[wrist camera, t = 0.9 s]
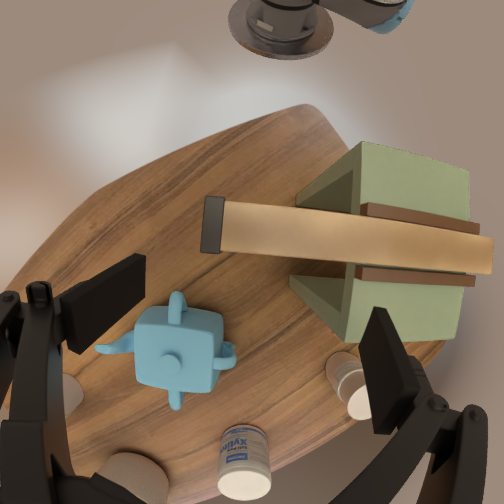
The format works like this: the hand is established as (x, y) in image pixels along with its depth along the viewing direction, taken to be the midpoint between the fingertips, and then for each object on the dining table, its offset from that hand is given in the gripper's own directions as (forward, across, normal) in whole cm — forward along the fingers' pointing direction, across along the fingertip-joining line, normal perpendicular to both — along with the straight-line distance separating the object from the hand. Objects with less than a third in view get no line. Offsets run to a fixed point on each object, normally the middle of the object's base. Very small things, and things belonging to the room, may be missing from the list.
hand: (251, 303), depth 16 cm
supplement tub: (+24, +1, -46) cm, 52 cm away
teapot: (+28, -15, -25) cm, 40 cm away
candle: (+32, +16, -27) cm, 45 cm away
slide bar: (+8, +7, +3) cm, 11 cm away
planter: (+16, -21, -62) cm, 67 cm away
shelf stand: (+37, +7, -5) cm, 38 cm away
